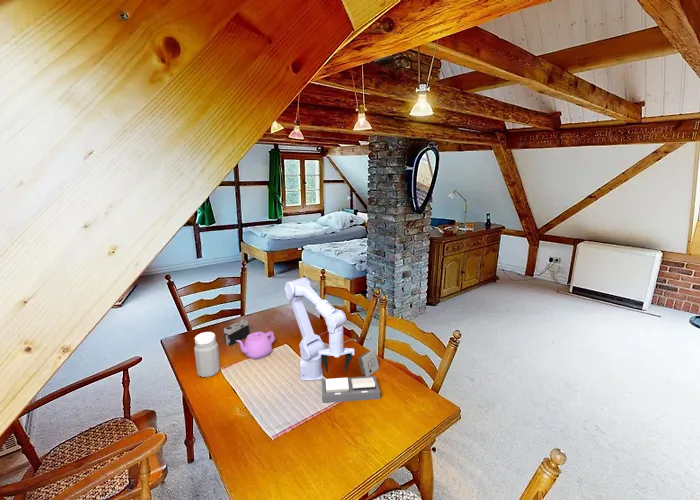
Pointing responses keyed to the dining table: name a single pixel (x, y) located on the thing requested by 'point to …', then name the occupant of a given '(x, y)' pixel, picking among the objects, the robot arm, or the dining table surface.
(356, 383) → the right paddle
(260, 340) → the teapot
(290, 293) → the robot arm
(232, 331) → the camera
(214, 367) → the jar
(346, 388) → the left paddle
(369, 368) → the electrical switch
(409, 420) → the dining table surface
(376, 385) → the switch box
